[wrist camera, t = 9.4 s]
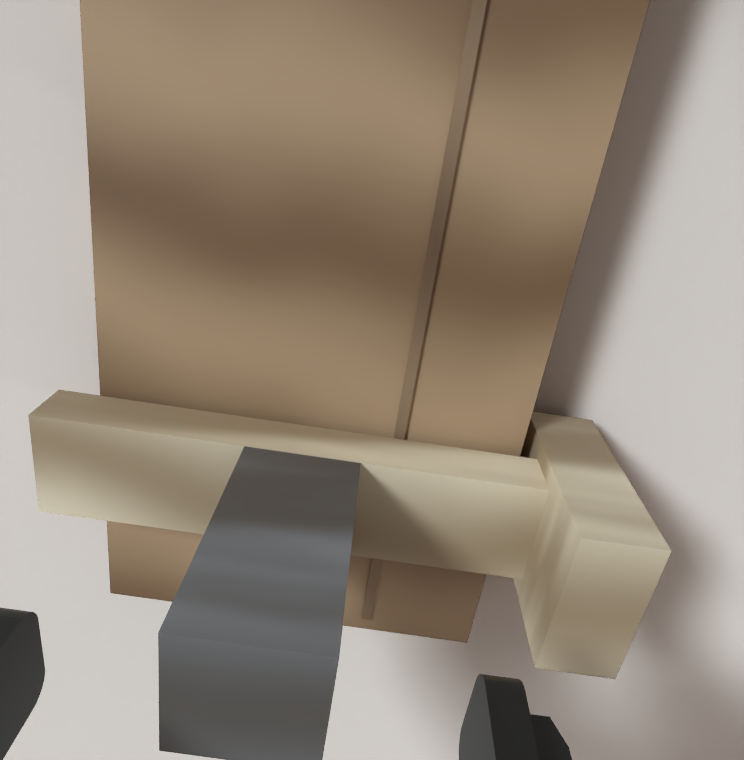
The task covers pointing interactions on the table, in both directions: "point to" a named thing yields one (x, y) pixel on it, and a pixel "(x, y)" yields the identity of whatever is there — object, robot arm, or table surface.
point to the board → (343, 228)
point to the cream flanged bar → (341, 547)
